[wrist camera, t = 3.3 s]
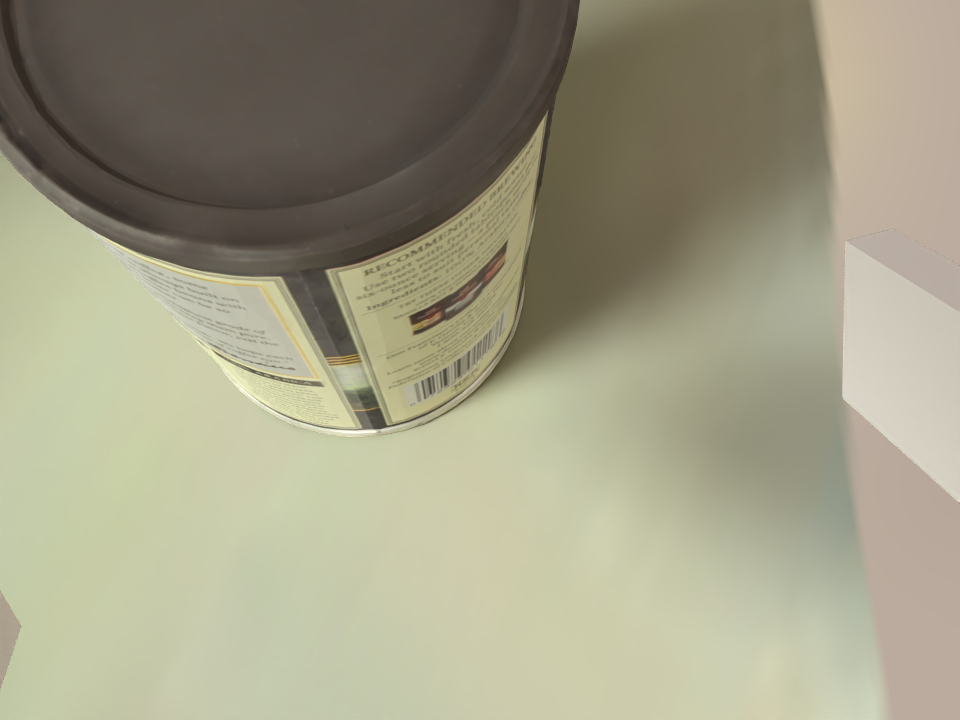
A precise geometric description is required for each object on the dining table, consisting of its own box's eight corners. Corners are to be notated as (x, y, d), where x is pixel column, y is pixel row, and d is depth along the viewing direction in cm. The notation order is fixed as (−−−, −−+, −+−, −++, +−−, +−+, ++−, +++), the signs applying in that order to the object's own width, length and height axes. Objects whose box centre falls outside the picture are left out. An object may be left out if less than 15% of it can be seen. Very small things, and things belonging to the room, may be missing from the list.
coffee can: (287, 86, 30) (145, -350, 17) (574, 202, 29) (672, -159, 16) (130, 358, 28) (-189, 101, 14) (441, 496, 27) (421, 365, 13)
